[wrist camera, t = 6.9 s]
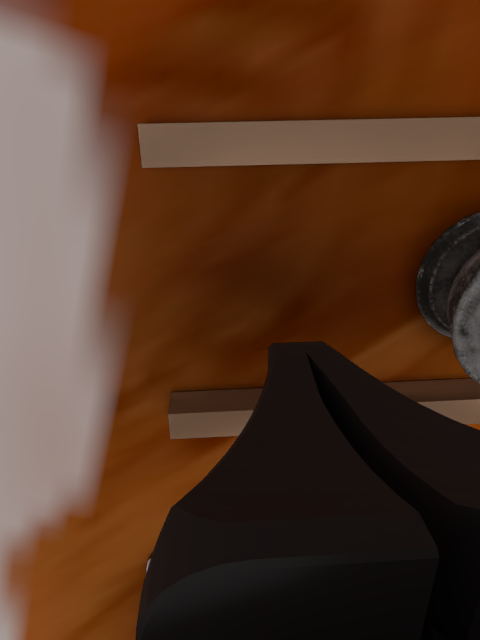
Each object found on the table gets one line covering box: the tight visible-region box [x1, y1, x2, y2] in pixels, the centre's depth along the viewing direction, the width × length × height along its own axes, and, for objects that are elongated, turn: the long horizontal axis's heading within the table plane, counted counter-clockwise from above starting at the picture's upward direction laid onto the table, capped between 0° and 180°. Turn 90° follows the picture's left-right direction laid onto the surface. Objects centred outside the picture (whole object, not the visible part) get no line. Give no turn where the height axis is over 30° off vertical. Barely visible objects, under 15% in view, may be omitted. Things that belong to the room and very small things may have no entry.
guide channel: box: [138, 117, 480, 439], centre depth 15 cm, size 11×17×4 cm
